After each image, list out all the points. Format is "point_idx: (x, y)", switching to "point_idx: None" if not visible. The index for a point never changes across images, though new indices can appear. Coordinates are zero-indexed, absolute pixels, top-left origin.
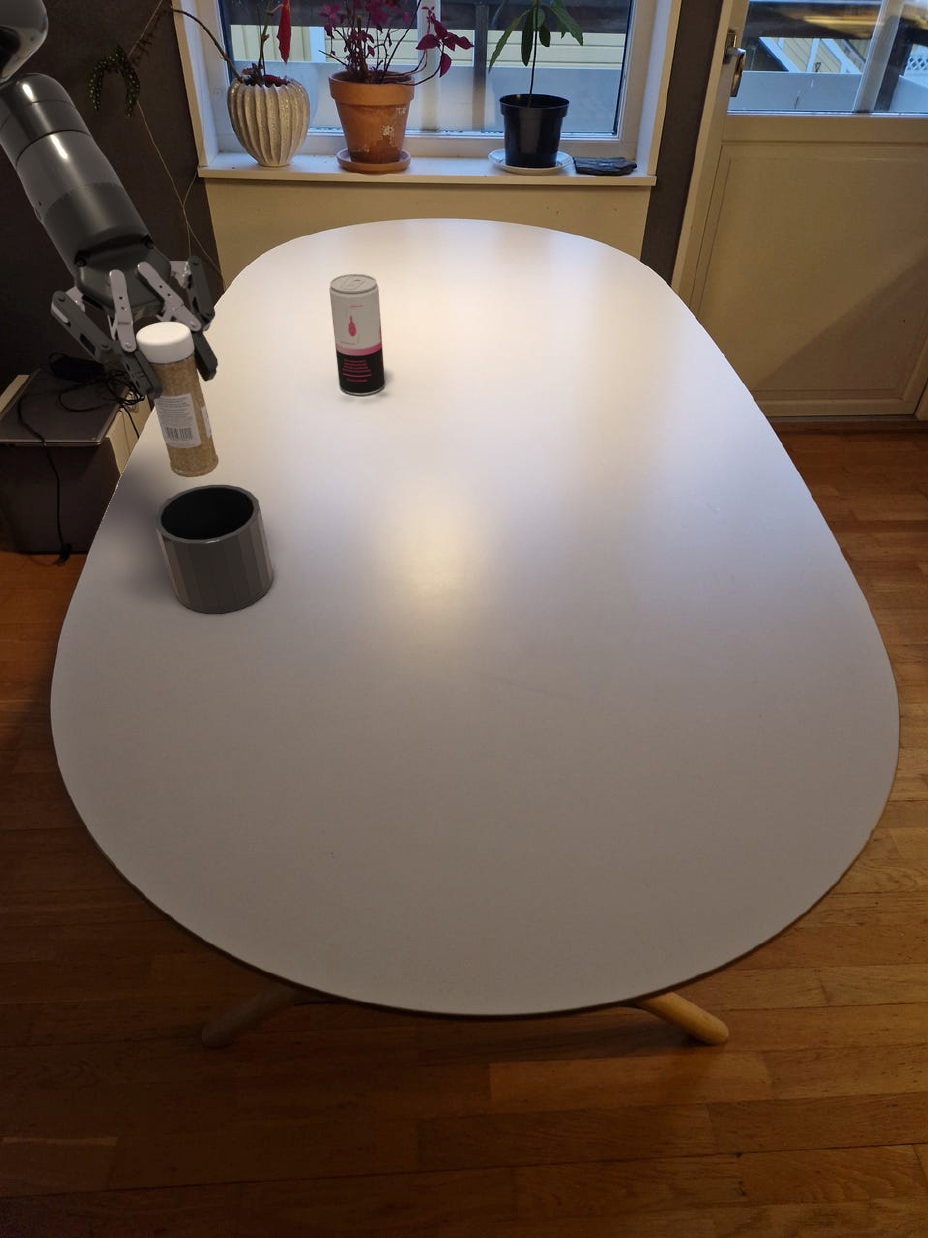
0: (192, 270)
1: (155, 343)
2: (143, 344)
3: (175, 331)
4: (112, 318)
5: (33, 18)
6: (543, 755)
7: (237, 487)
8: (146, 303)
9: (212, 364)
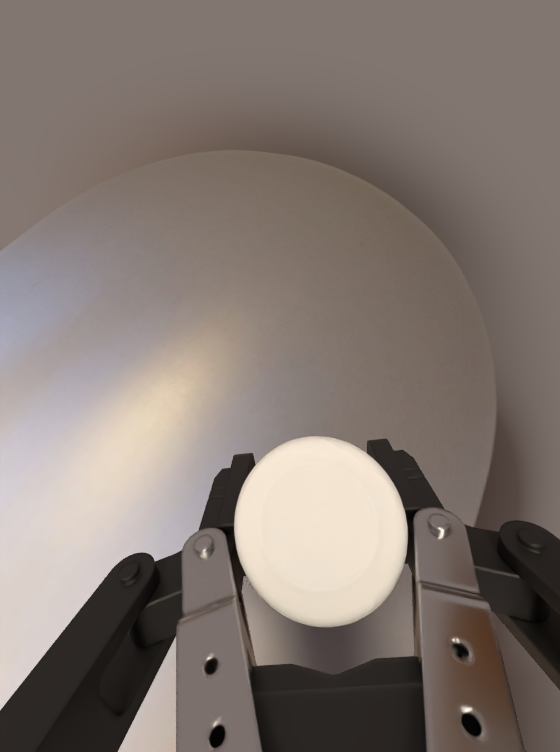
0: None
1: (365, 455)
2: (396, 489)
3: (284, 493)
4: None
5: None
6: (232, 241)
7: None
8: (324, 689)
9: (236, 459)
